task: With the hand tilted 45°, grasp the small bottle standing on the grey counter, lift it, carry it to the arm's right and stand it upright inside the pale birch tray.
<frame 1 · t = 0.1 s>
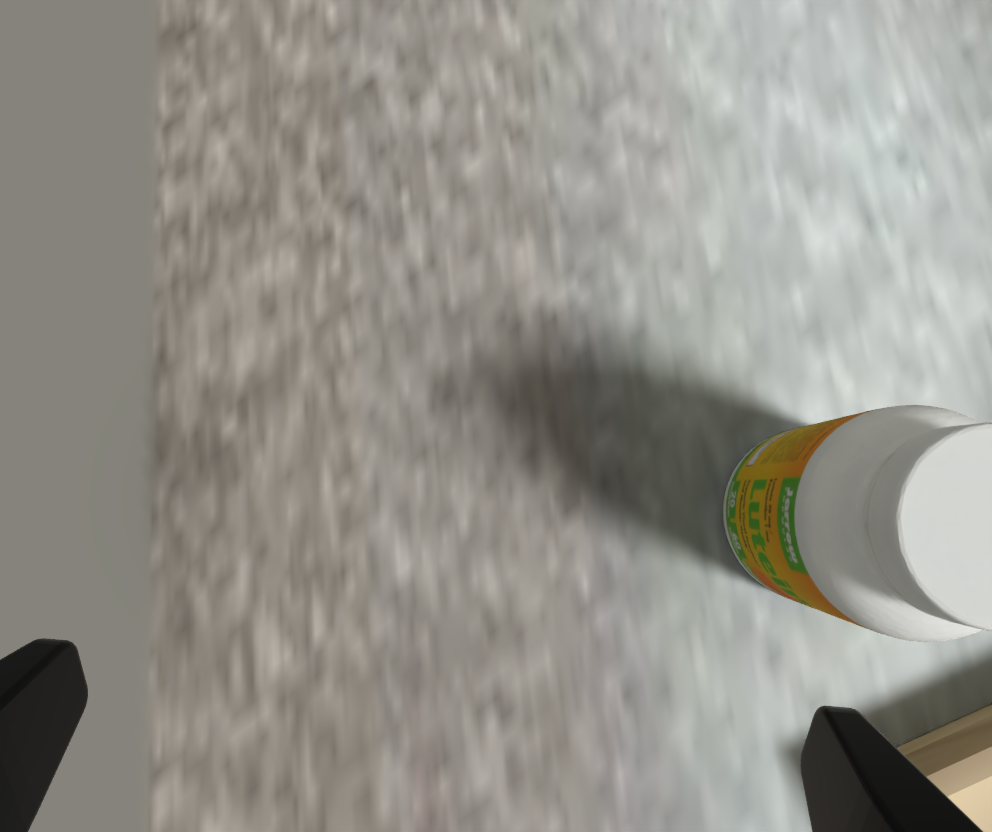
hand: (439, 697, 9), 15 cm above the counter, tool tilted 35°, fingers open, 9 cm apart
supplement bottle: (802, 513, 24), on the counter
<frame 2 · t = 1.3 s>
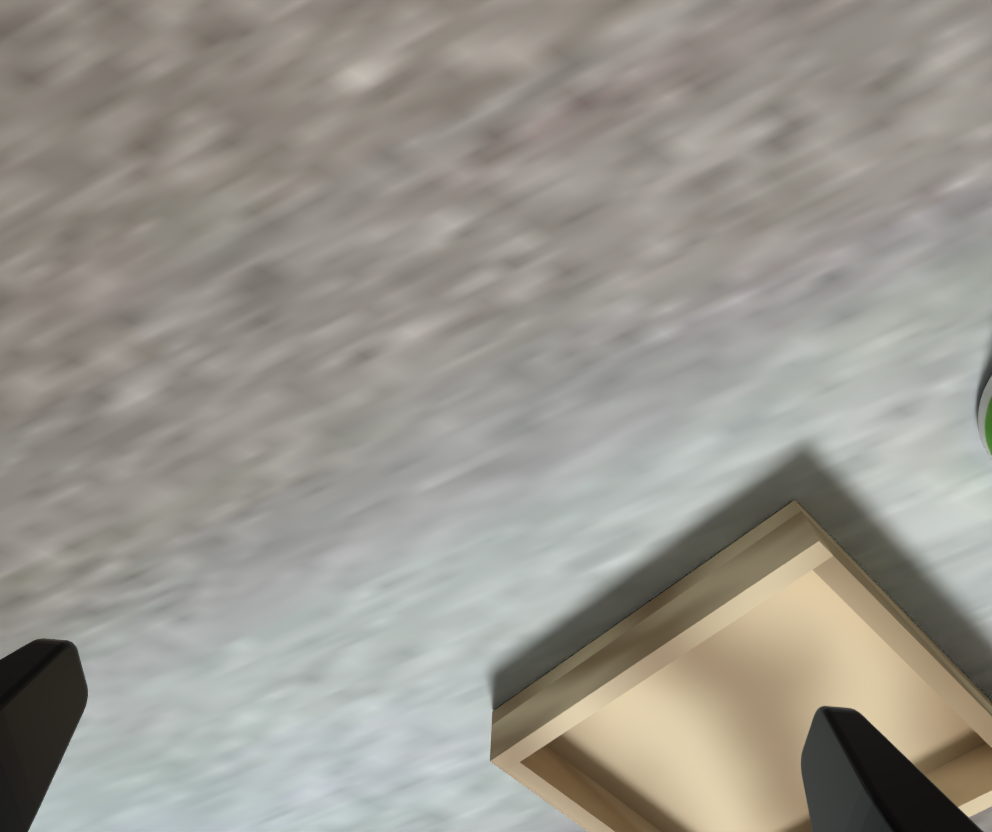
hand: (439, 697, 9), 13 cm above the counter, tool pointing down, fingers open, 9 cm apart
tray: (750, 718, 27), on the counter
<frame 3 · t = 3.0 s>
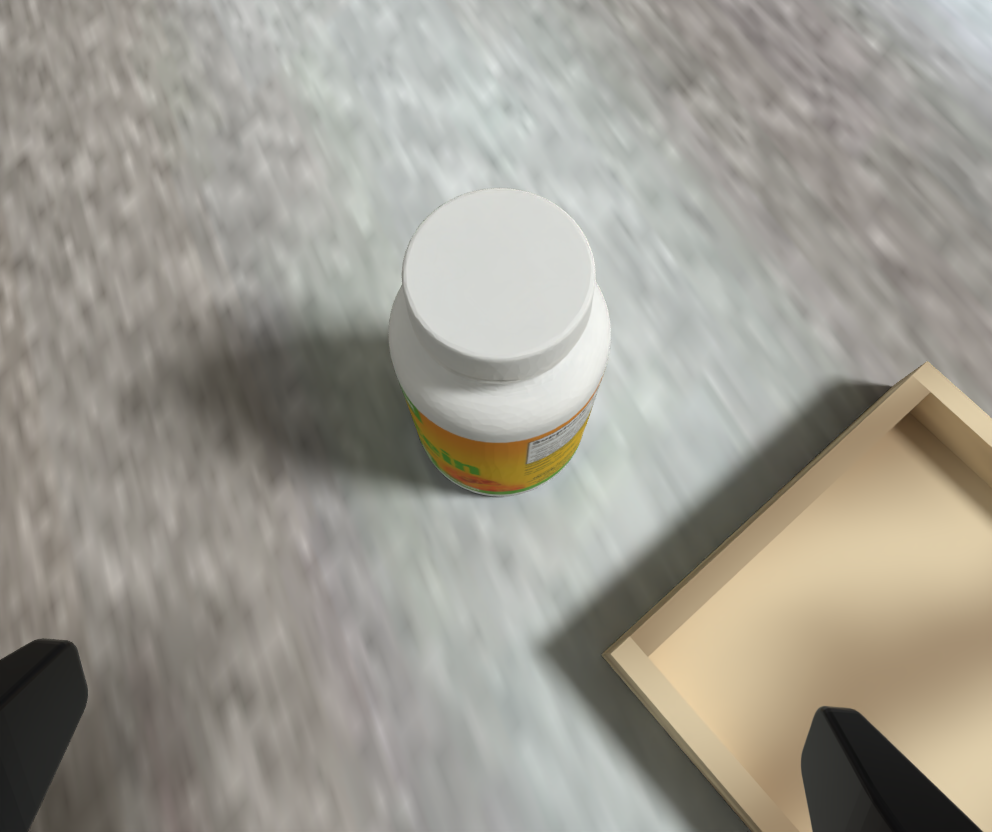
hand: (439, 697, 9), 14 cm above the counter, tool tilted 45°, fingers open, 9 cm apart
tray: (919, 682, 22), on the counter
supplement bottle: (500, 420, 25), on the counter
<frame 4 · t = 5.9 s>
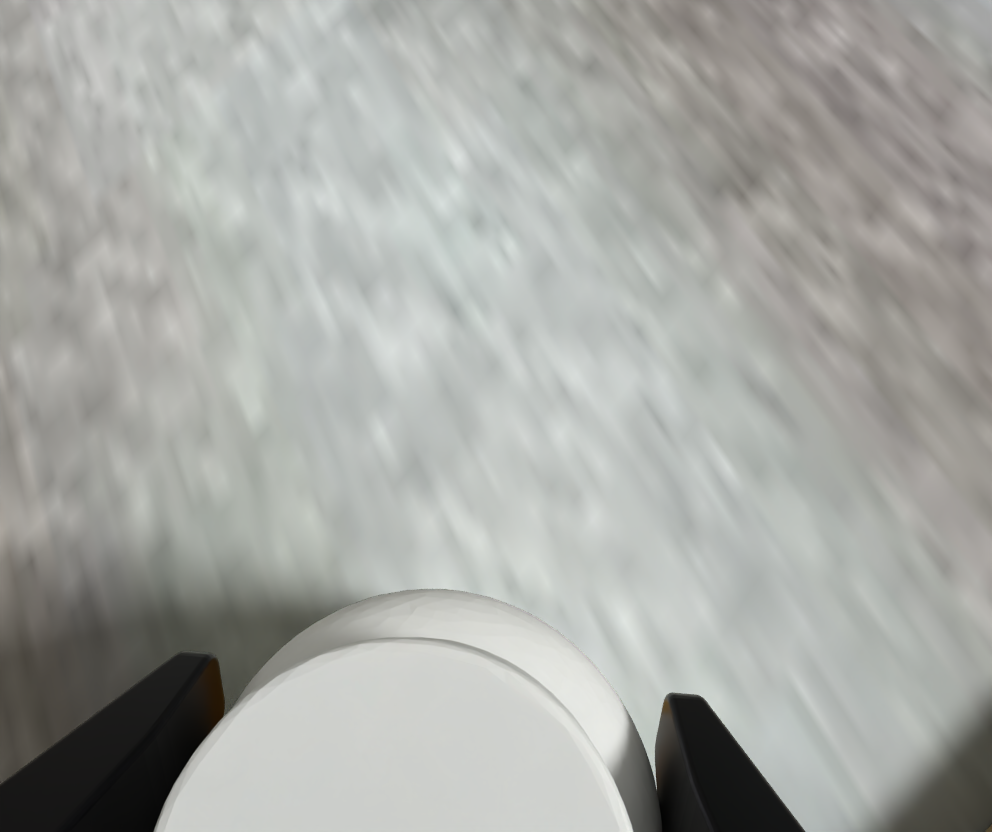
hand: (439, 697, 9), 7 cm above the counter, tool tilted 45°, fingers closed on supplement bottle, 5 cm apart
supplement bottle: (460, 757, 15), on the counter, touching gripper
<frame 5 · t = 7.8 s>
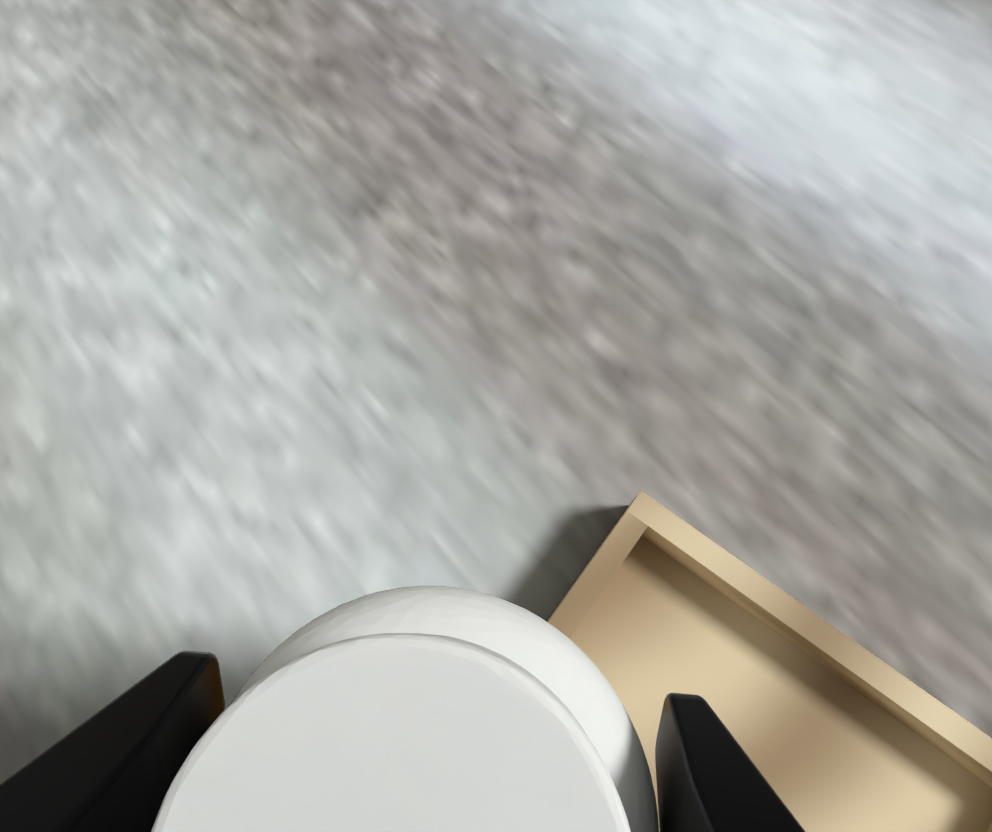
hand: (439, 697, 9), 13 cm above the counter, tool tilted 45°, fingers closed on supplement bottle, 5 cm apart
supplement bottle: (458, 754, 15), point 6 cm above the counter, touching gripper
when the fingers open (8 cm above the counter, at t = 9.9 s): supplement bottle drops 1 cm, resting on tray.
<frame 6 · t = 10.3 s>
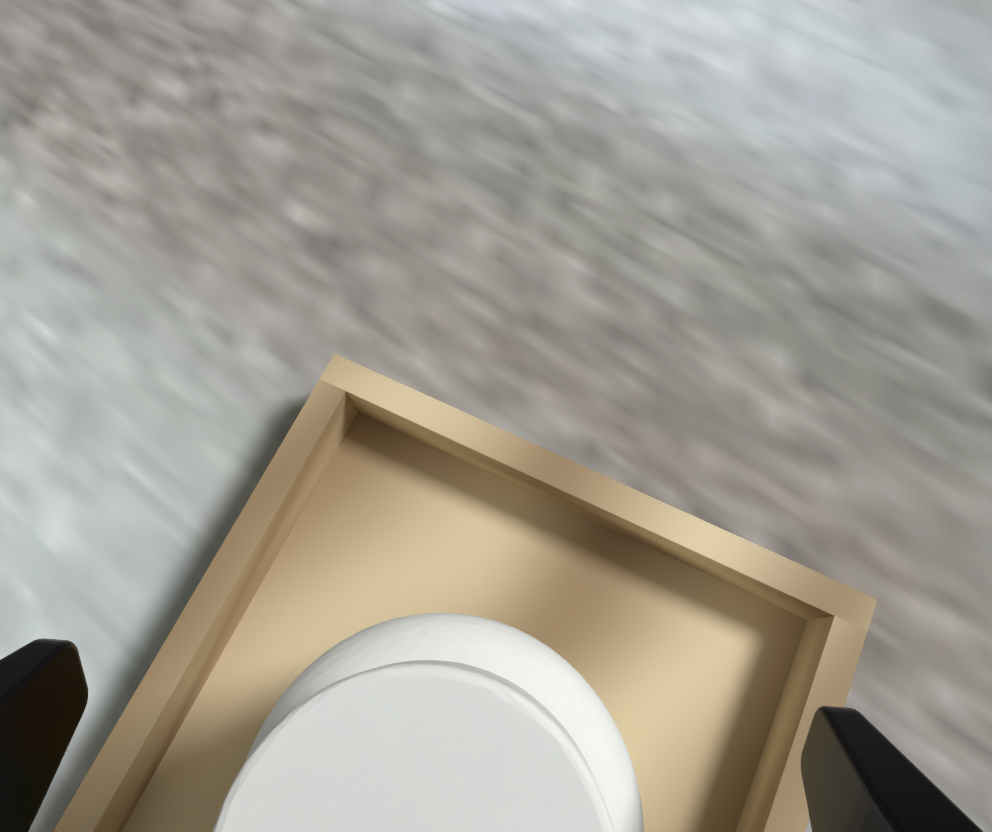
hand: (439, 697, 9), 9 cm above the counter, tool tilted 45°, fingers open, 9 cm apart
tray: (464, 748, 17), on the counter
supplement bottle: (464, 759, 16), resting on tray
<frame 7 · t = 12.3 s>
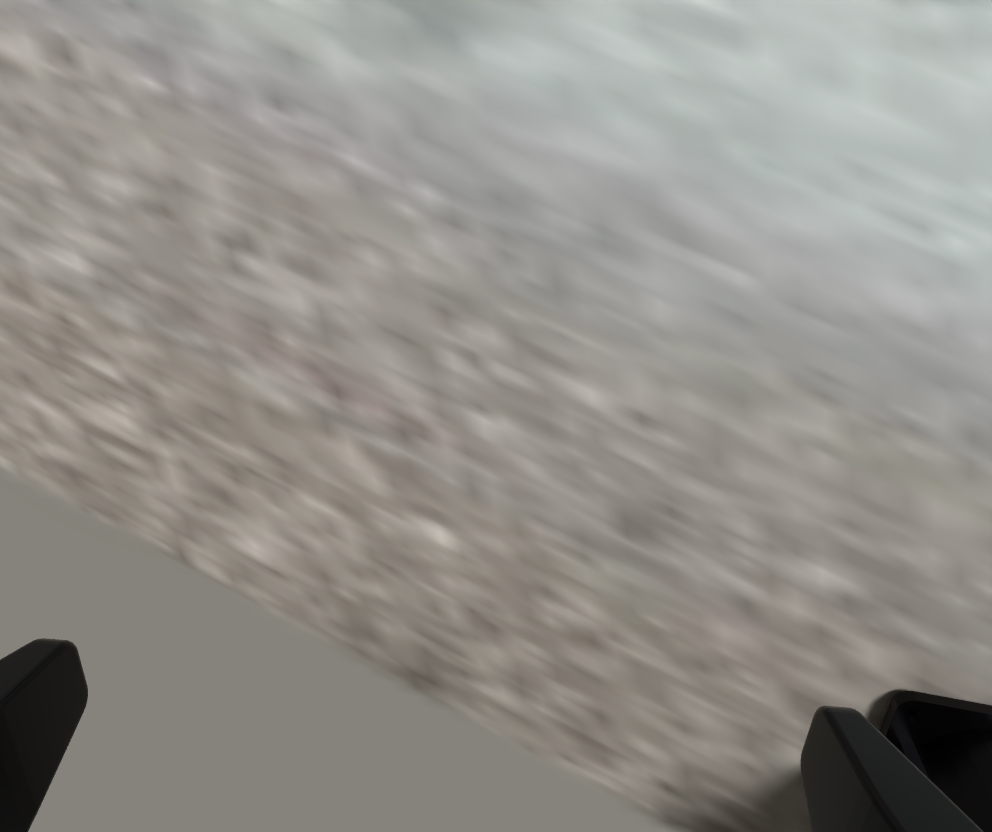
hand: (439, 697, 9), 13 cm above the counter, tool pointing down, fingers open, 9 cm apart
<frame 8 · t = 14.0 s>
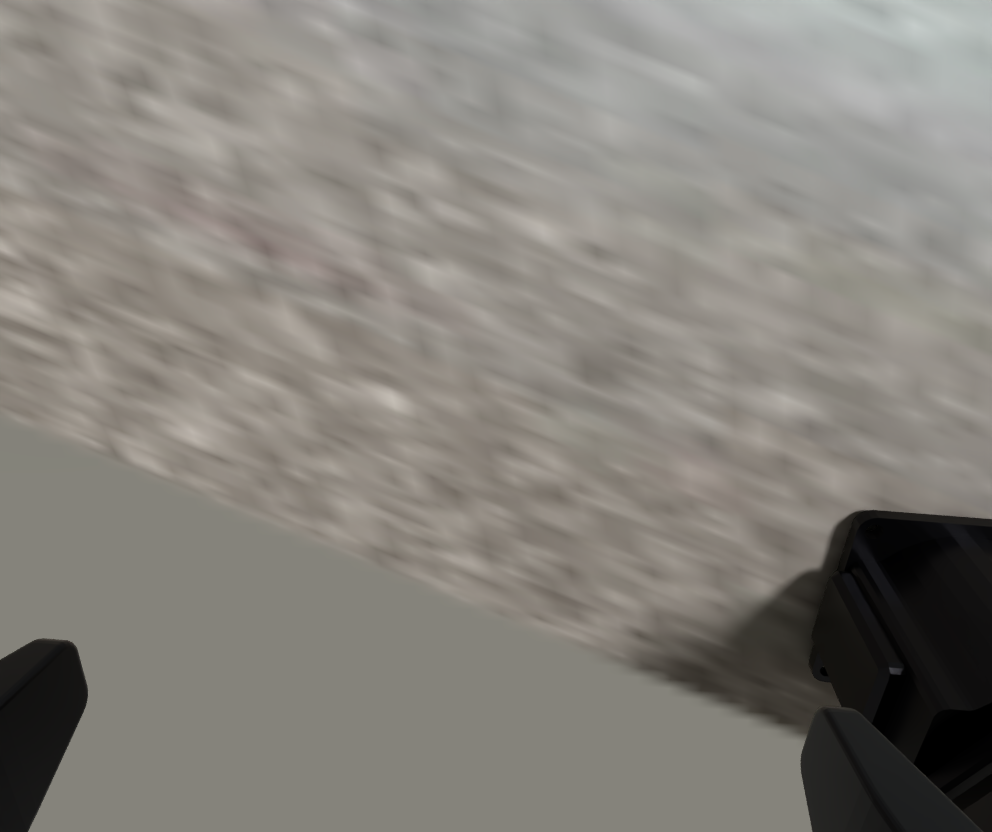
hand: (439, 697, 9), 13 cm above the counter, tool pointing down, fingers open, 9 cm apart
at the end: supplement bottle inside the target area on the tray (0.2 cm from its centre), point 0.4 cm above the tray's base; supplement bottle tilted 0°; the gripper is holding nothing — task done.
